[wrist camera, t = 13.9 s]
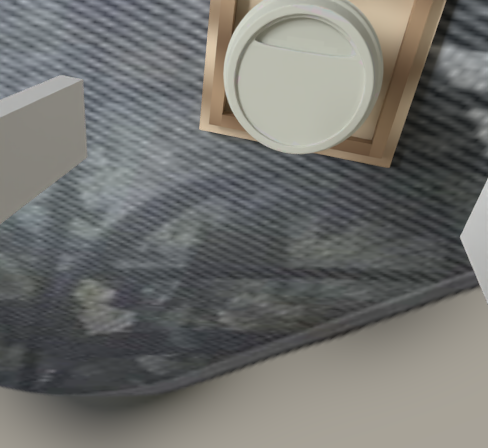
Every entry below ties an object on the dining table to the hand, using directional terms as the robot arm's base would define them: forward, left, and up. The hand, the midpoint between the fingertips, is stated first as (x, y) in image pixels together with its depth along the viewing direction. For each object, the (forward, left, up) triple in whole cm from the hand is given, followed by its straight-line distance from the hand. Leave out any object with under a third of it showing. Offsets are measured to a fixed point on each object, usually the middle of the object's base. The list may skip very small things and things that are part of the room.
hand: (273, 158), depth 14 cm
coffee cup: (0, 0, -22) cm, 22 cm away
